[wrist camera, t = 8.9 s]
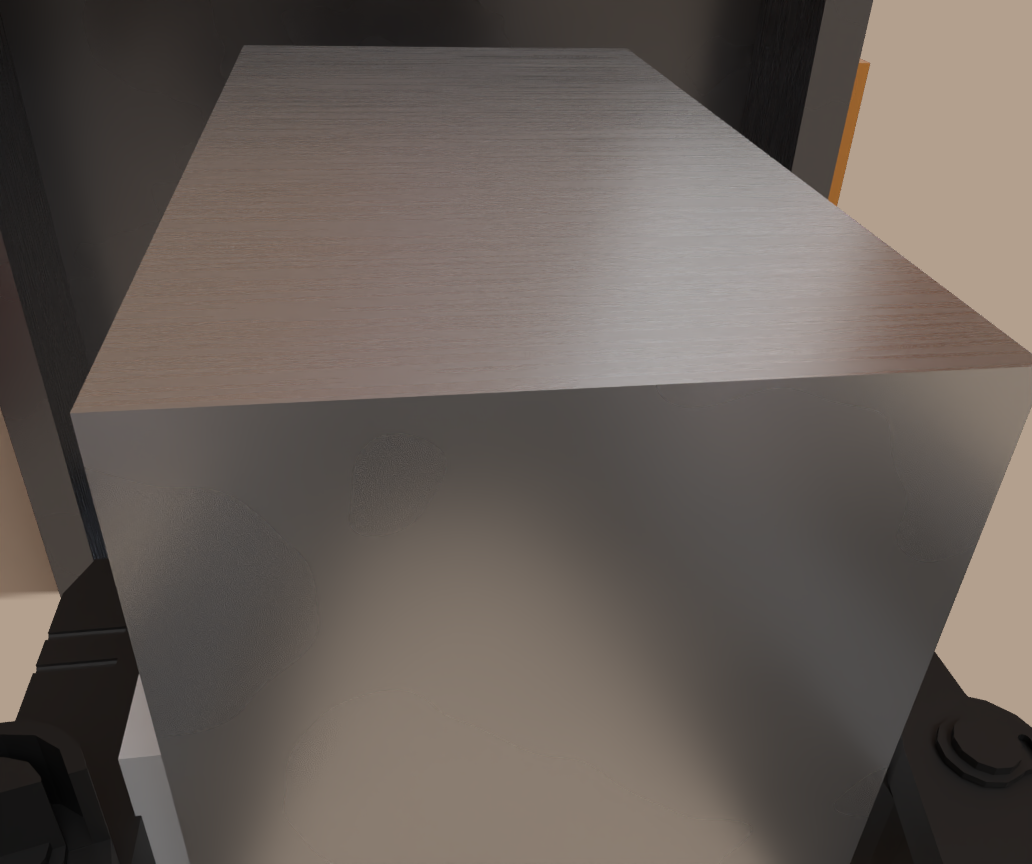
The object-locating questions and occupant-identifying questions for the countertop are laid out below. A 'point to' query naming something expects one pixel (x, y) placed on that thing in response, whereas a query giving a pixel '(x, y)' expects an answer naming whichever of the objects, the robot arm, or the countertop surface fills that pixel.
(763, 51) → the tray
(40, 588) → the countertop surface
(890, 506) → the plain grey rectangular box
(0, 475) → the countertop surface
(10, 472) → the countertop surface
